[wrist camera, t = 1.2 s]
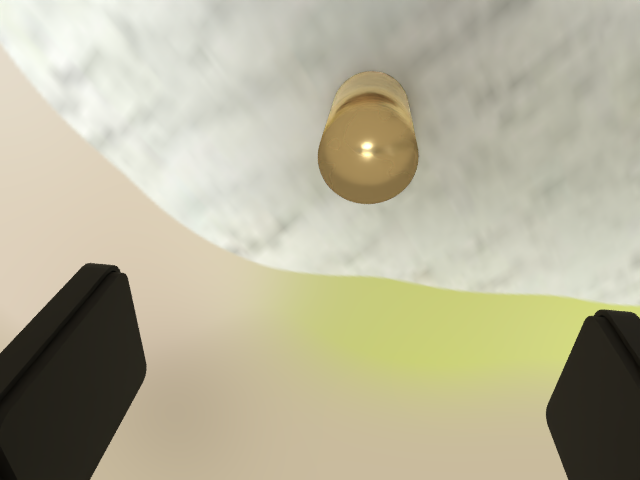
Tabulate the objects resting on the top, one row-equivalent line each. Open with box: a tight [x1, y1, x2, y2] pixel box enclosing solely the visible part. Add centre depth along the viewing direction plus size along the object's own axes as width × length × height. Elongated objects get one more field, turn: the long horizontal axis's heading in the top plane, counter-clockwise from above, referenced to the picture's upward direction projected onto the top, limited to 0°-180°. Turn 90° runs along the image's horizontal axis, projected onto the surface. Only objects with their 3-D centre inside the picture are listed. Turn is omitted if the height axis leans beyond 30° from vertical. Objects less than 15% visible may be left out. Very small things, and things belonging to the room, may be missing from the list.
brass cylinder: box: [318, 71, 419, 204], centre depth 22 cm, size 4×4×7 cm
